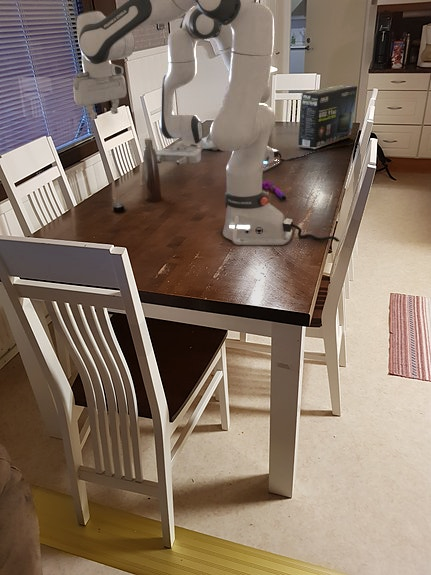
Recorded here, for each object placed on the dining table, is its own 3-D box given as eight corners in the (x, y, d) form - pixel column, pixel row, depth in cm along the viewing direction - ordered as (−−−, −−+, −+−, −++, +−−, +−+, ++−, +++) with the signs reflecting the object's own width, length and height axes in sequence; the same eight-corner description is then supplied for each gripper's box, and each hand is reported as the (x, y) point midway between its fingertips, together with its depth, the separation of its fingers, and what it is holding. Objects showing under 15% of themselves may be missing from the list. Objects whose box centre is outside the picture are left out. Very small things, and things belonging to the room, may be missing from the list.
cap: (126, 210, 170) (125, 205, 169) (117, 213, 168) (116, 208, 167) (120, 208, 173) (119, 202, 172) (111, 211, 171) (110, 205, 170)
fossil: (217, 145, 233) (197, 126, 236) (207, 162, 240) (188, 144, 243) (235, 143, 247) (216, 125, 250) (225, 159, 253) (207, 142, 257)
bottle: (155, 202, 177) (149, 141, 165) (145, 200, 180) (137, 139, 168) (164, 198, 181) (158, 138, 169) (153, 195, 183) (147, 136, 171)
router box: (314, 151, 231) (318, 94, 217) (296, 148, 237) (299, 92, 224) (352, 138, 251) (358, 85, 238) (335, 135, 258) (340, 83, 245)
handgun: (253, 185, 189) (253, 181, 188) (271, 183, 190) (271, 179, 189) (267, 202, 172) (267, 197, 171) (287, 200, 173) (287, 195, 172)
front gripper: (79, 74, 137) (87, 122, 144) (126, 67, 152) (132, 111, 159) (65, 74, 140) (74, 121, 147) (113, 66, 155) (118, 110, 162)
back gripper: (159, 144, 197) (144, 153, 187) (203, 145, 191) (190, 155, 180) (161, 158, 201) (146, 168, 190) (204, 161, 194) (191, 171, 183)
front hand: (104, 116), depth 153 cm, fingers open, 8 cm apart
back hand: (168, 162), depth 185 cm, fingers open, 8 cm apart
